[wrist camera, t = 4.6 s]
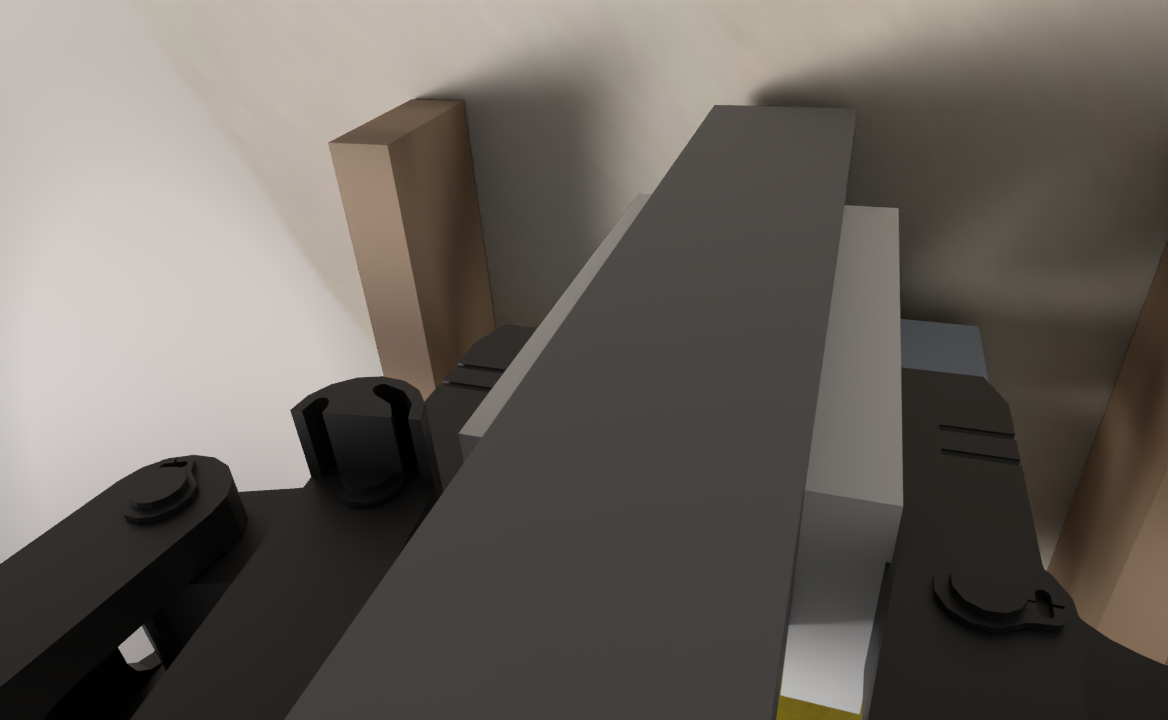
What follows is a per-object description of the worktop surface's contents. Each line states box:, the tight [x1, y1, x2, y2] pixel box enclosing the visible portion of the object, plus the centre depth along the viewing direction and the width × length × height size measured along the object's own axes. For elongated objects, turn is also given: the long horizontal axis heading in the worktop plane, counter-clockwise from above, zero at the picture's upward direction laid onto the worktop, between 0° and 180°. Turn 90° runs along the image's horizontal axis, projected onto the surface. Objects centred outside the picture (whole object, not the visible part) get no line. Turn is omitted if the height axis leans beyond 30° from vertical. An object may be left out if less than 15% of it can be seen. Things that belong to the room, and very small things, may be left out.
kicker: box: [284, 105, 989, 720], centre depth 9 cm, size 6×8×14 cm
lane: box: [328, 99, 1168, 665], centre depth 17 cm, size 21×15×6 cm
